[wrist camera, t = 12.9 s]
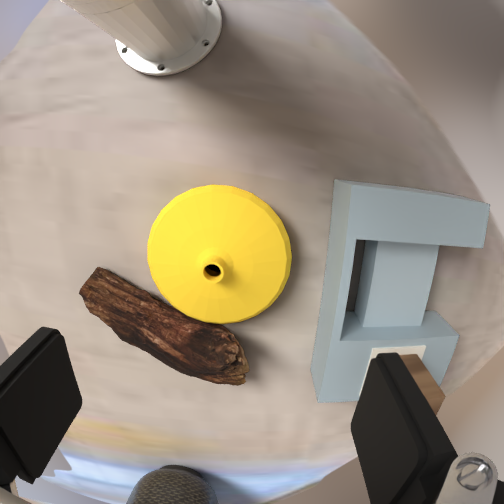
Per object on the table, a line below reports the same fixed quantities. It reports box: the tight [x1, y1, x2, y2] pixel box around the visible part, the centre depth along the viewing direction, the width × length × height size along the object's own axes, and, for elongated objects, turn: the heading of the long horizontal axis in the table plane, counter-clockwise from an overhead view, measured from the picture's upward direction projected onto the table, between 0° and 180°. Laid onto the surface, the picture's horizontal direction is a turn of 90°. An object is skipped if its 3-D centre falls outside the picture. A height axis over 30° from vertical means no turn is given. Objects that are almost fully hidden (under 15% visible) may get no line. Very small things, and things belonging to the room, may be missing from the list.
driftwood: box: [79, 267, 249, 386], centre depth 36 cm, size 23×8×8 cm, turn 69°
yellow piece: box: [148, 185, 292, 324], centre depth 34 cm, size 16×16×7 cm
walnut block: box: [399, 354, 445, 415], centre depth 29 cm, size 5×5×8 cm
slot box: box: [311, 179, 490, 403], centre depth 34 cm, size 25×17×7 cm
